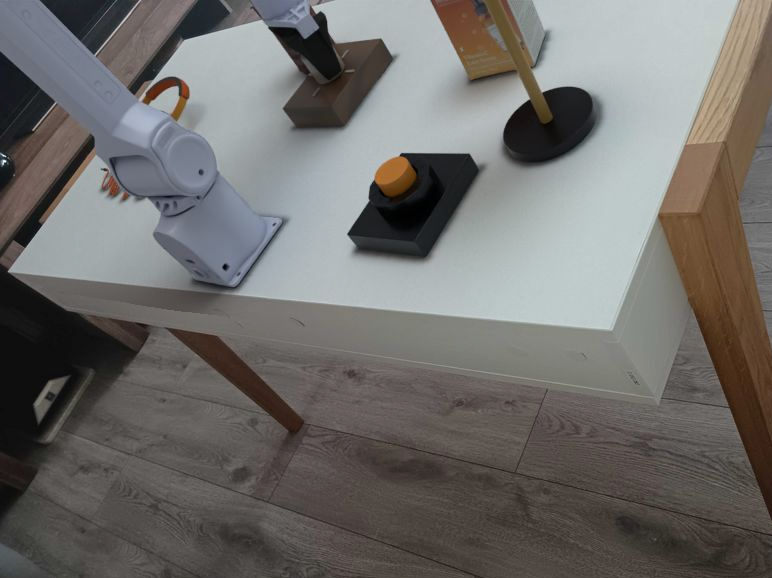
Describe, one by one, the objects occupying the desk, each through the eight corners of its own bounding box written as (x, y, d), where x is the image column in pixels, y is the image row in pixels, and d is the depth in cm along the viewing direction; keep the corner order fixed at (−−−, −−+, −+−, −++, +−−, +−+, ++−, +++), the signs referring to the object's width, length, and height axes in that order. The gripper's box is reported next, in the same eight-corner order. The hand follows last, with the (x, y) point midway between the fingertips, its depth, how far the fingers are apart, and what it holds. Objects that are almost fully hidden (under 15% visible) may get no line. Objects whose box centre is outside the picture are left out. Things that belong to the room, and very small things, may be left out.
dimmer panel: (344, 126, 90) (329, 105, 87) (296, 127, 95) (281, 107, 93) (393, 58, 94) (380, 36, 92) (344, 63, 99) (331, 42, 97)
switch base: (426, 257, 69) (405, 228, 66) (358, 249, 74) (335, 221, 71) (479, 169, 73) (461, 138, 70) (411, 168, 78) (392, 139, 75)
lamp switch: (405, 198, 69) (395, 185, 68) (377, 197, 71) (367, 183, 70) (423, 170, 71) (414, 156, 69) (395, 169, 73) (386, 156, 71)
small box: (470, 82, 83) (425, -3, 75) (483, 49, 85) (441, -36, 78) (536, 66, 79) (495, -25, 71) (547, 33, 81) (509, -59, 74)
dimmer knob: (333, 83, 90) (314, 56, 88) (311, 85, 93) (293, 58, 90) (350, 61, 92) (332, 33, 89) (328, 63, 94) (310, 36, 92)
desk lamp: (575, 168, 67) (456, -96, 50) (486, 166, 73) (352, -70, 56) (618, 90, 70) (520, -181, 53) (529, 94, 76) (416, -148, 59)
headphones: (158, 212, 104) (221, 89, 107) (124, 192, 100) (190, 65, 103) (104, 201, 115) (163, 89, 118) (72, 183, 111) (133, 68, 114)
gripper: (307, -43, 77) (375, 66, 87) (269, -66, 87) (334, 34, 97) (253, -1, 77) (328, 103, 87) (222, -29, 87) (292, 67, 97)
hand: (328, 69), depth 92 cm, fingers closed on dimmer knob, 4 cm apart
